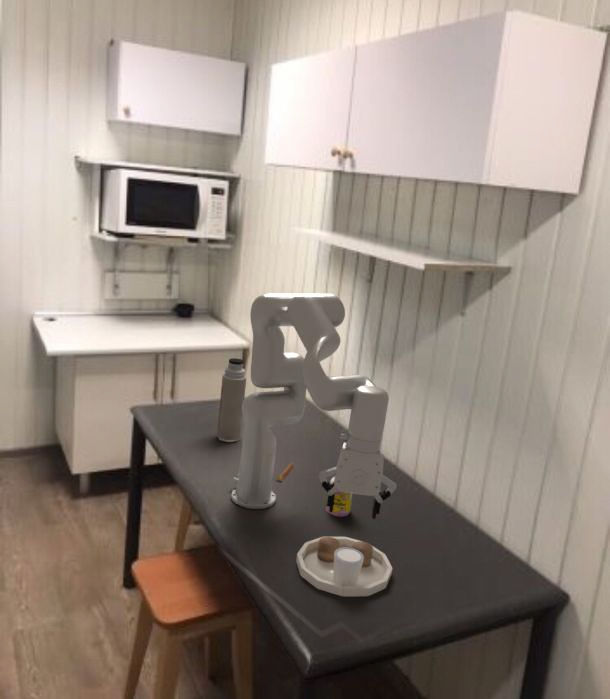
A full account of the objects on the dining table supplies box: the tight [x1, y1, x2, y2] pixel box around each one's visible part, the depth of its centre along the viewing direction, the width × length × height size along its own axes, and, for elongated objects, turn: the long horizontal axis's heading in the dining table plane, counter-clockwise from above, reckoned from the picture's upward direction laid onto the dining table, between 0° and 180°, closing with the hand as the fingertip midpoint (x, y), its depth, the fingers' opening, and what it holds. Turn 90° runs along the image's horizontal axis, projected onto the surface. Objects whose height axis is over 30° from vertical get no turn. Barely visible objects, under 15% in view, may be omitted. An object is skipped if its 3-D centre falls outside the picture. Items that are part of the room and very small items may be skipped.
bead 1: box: [317, 536, 340, 562], centre depth 167 cm, size 5×5×4 cm
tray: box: [295, 536, 393, 598], centre depth 163 cm, size 22×22×3 cm
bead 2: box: [352, 541, 374, 567], centre depth 167 cm, size 5×5×4 cm
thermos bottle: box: [216, 357, 247, 440], centre depth 232 cm, size 8×8×28 cm
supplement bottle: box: [325, 476, 353, 517], centre depth 190 cm, size 7×7×13 cm
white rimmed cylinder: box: [333, 547, 364, 586], centre depth 157 cm, size 7×7×7 cm
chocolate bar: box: [275, 461, 295, 482], centre depth 213 cm, size 3×12×2 cm, turn 163°
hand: (352, 512), depth 154 cm, fingers open, 9 cm apart
